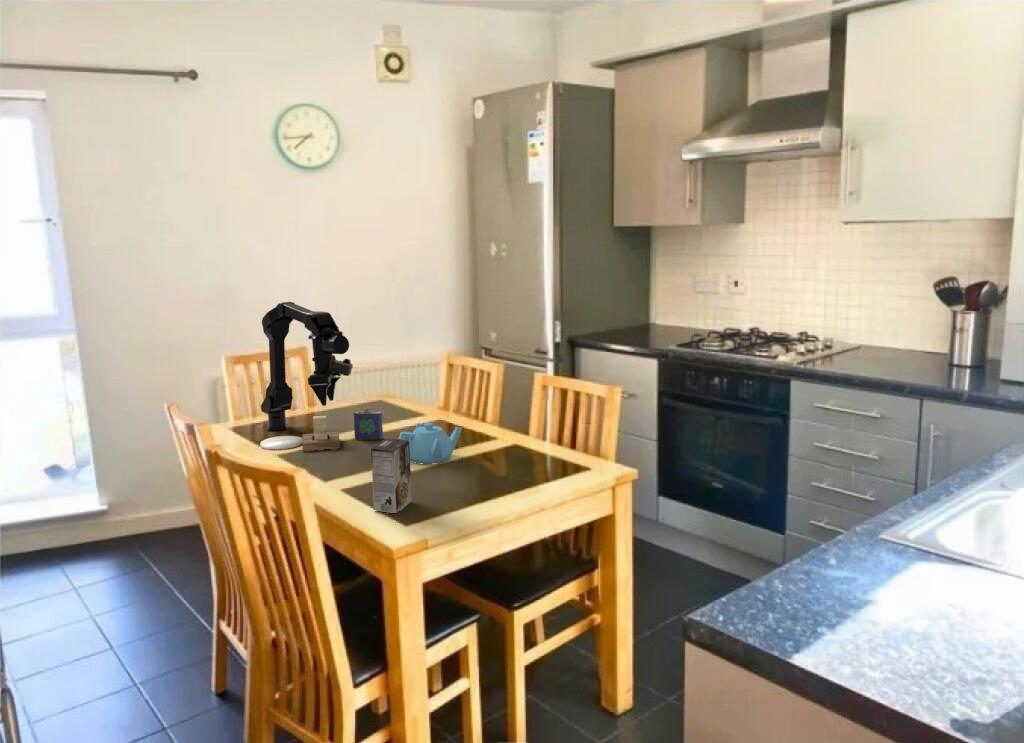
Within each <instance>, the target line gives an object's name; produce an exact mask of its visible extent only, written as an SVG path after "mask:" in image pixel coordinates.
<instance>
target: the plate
mask: <svg viewBox="0 0 1024 743" xmlns="http://www.w3.org/2000/svg"><path fill="white" fill-rule="evenodd" d="M259 444H260V445H259V446H260V448H262V449H264V450H268V449H269V450H271V449H273V450H271V451H279V450H278V449H283V450H289V449H288V448H290V449H294V448H293V447H295V448H298V447H300V446H301V444H302V437H300V436H295V435H279V436H273V437H269V438H266V439H263V440H262V441H261V442H260V443H259ZM299 445H300V446H299ZM297 446H298V447H297ZM274 449H275V450H274ZM276 449H277V450H276Z"/></svg>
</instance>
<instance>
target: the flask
mask: <svg viewBox="0 0 1024 743" xmlns="http://www.w3.org/2000/svg"><path fill="white" fill-rule="evenodd" d="M364 409H365V410H361V409H359V410H358V411H354V412H353V424H354V425H353V427H354V429H353V431H354V440H355V439H357V440H356V441H379V440H380V439H382V440H383V439H384V432H383V430H384V427H383V413H382V412H381V411H371V410H370V409H371V407H369V406H366V407H364ZM378 439H379V440H378ZM380 441H381V440H380Z"/></svg>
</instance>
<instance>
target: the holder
mask: <svg viewBox="0 0 1024 743" xmlns="http://www.w3.org/2000/svg"><path fill="white" fill-rule="evenodd" d="M301 436H302V437H301V438H302V447H301V448H302V452H303V451H306V452H315V451H314V450H318V451H325V450H324V449H331V450H338V449H337V448H340V449H341V440H340V434H339V431H331V432H330V431H329V432H328V431H327V438H328V439H325V440H314V433H304V434H303V433H302V435H301Z"/></svg>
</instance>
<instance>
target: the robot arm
mask: <svg viewBox="0 0 1024 743" xmlns="http://www.w3.org/2000/svg"><path fill="white" fill-rule="evenodd" d="M294 320H295V321H297V322H299V323H301V324H303V325H304V328H305V329H306V330H308V331H309V332H310V334H309V335H308V340H311V344H312V354H313V356H312V358H311V360H312V362H314V364H313V365H314V371H313V373H312V374H310V375H309V376H308V377H307V384H308V385H309V387H310V388H311V389H312V392H314V394H315V395H316V398H317V399H318V401H319V402H320V404H321V406H322V407H325V406H327V402H328V401H327V399H328V400H329V401H334V397H335V390H336V386H337V385H336V384H337V382H339V380H340V379H341V378H342V377H341V376H346V377H348V376H350V375H351V373H352V369H353V368H354V367H353V366H354V365H353V363H351V359H349V358H344V359H343V360H338V359H336V356H335V355H344V354H346V353H347V352H348V351H349V348H350V342H349V339H348V338H347V337H346V336H345V335H344V334H343V331H340V329H339V328H340V327H339V326H338V325H337V324H336V321H335V320H334V318H333V316H332V314H331V313H330V312H327V311H317V310H316V311H315V310H314V311H313V310H311V309H308V308H305V307H304V306H301V305H299V304H295V302H292V301H284V302H279V303H278V304H277V305H276V306H275V307H273V308H271V309H270V310H269V311H267V312H266V314H264V316H262V319H261V325H262V330H263V333H264V335H265V336H266V338H267V339H268V352H269V375H270V376H269V378H270V382H269V384H268V386H267V387H266V389H265V397H264V399H263V401H262V403H261V404H260V411H261V413H264V414H267V418H268V419H267V420H268V422H267V423H268V425H267V429H266V431H267V432H272V431H276V432H277V431H286V430H288V428H289V427H288V423H287V419H286V416H287V415H286V411H288V410H292V404H293V399H294V397H293V388H292V387H291V386H289V384H288V383H287V379H286V378H287V376H286V375H287V374H286V351H285V350H286V349H285V348H286V347H285V341H286V337H287V336H288V334H289V332H290V325H291V323H292V322H293V321H294Z"/></svg>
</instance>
